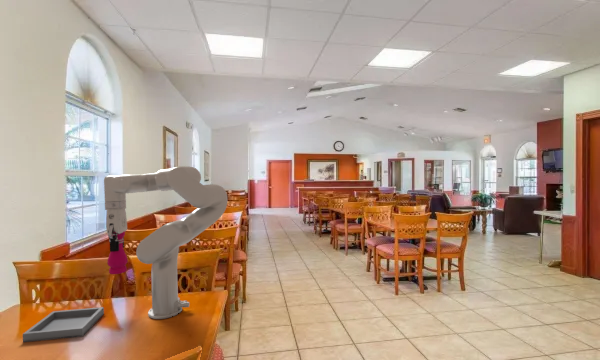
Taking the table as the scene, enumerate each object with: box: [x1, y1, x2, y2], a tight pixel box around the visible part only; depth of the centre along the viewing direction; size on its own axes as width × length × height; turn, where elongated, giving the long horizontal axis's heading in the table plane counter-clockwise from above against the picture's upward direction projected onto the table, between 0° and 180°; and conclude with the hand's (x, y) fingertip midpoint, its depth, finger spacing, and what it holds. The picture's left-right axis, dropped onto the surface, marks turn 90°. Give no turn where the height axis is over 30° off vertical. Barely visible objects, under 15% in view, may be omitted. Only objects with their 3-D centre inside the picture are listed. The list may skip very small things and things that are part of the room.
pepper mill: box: [106, 231, 128, 275], centre depth 133 cm, size 7×7×20 cm
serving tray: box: [22, 306, 105, 343], centre depth 119 cm, size 18×18×3 cm
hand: (117, 249), depth 133 cm, fingers closed on pepper mill, 5 cm apart
